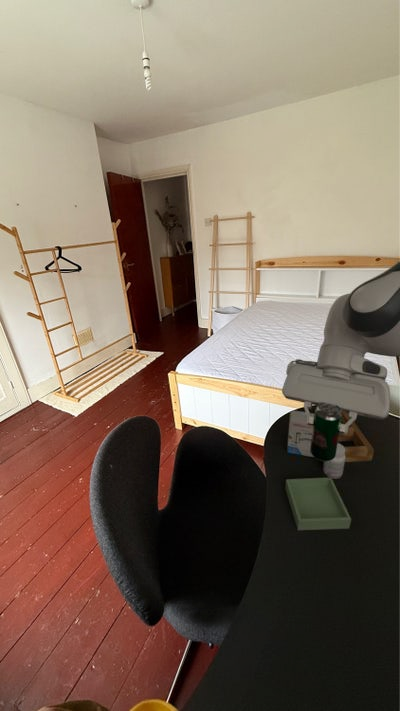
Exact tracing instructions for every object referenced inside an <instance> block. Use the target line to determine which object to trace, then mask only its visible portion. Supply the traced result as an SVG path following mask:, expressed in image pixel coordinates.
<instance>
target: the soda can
mask: <svg viewBox="0 0 400 711" xmlns="http://www.w3.org/2000/svg"><path fill="white" fill-rule="evenodd" d="M313 414H314V423H313V430H312V438H311V446H310V452H311V454H312V455H313V456H314V457H313V458H315V459H316V460H318V461H321V462H324V461H330V460H332V459H334V458H335V455H336V450H337V444H338V438H339V429H340V426H341V421H342V412H341V409H340V407H339V406H338V405H336V406H335V405H333V404H328V403H325V402H322V403H320V404H318V406H317V405H316V408H315V409H314V413H313Z"/></svg>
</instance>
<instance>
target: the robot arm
mask: <svg viewBox="0 0 400 711" xmlns="http://www.w3.org/2000/svg"><path fill="white" fill-rule="evenodd" d="M367 353H369V354H372V355H378V356H382V357H383V356H385V357H391V358H393V357H395V358H396V357H397V358H398V357H400V260H399V261H397V263H395V264H393V265H392V266H391V267H389V268H388V269H386V270H385V271H383V272H382V273H380V274H378V275H376V276H373V277H372V278H370V279H368V280H366V281H364V282H362V283H361V284H359V285H357V286H356V287H355V288H353V290H352V291H351V292H350V293H345V294H342V295H340V296H338V297H337V298H336V299H335V300H334V302H333V303H332V305H331V306H330V308H329V311H328V314H327V316H326V320H325V324H324V328H323V341H322V343H321V345H320V347H319V351H318V356H317V360H316V361H312V360H302V359H299V358H296V359H295V360H292V361H290V362H289V363H288V364H287V368H286V371H285V372H286V377H285V380H284V382H283V385H282V388H281V392H282V395H283V396H284V398H285V399H287V400H291V401H295V402H300V403H303V409H304V412H306V414H307V419H306V425H309V426H313V423H314V417H312V416H311V415H310V413H311V412H310V410H312V407H313V406H316V407H317V406H318V404H320V403H322V402H325V403H328V404H333V405H335V406H336V405H338V406H339V407H340V409H341V411H343V412H347V413H348V414H349V417H348V418H350V420H349V421H348V422H347V423H346V424H341V426H340V429H339V433H340V434H344V435H347V431H348V427H349V426H350V425H351V424H352V423H353V422H354V423H355V421H357V417H358V416H361V417H365V418H370V419H374V420H379V421H383V420H385V419H387V418H388V417H389V415H390V409H391V388H390V386H389V383H388V382H387V380H386V379H387V376H388V369H387V367H386V366H383V365H382V364H380V363H377V362H374V361H372V360H370V359H368V358H365V356H366V354H367Z"/></svg>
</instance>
